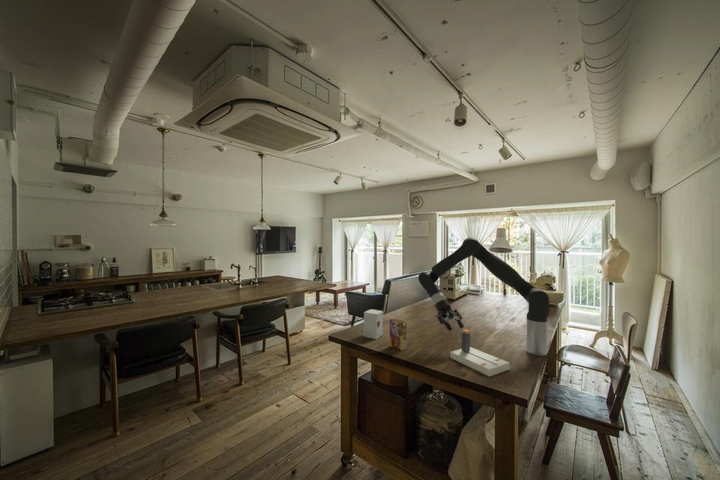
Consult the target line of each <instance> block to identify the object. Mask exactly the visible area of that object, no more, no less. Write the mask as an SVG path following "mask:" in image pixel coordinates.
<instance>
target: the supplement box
mask: <svg viewBox="0 0 720 480" xmlns="http://www.w3.org/2000/svg"><path fill="white" fill-rule="evenodd" d="M383 333H384V311H383V310H378V309H371V308H370V309H368V310H366V311H364V312H363V337H364V338H368V339H373V340H377V339H379V338H380V336H381V337H382V336H383V335H384V334H383Z"/></svg>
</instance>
